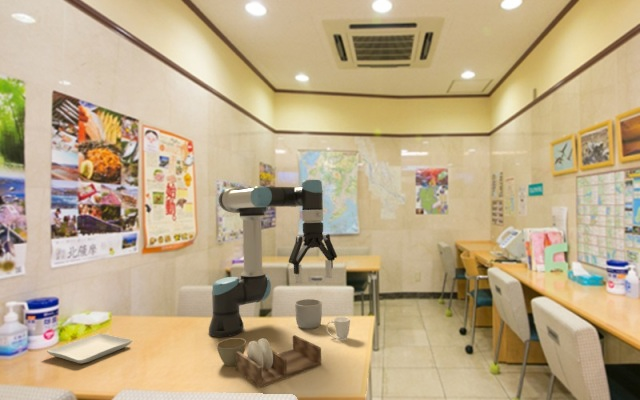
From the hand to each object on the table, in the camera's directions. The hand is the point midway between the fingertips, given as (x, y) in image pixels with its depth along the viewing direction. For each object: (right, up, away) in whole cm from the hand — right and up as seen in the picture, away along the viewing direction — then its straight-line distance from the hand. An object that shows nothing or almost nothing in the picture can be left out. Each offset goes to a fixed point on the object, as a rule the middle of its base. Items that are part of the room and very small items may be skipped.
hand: (314, 280), depth 129 cm
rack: (-12, -28, -8) cm, 31 cm away
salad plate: (-87, -31, +9) cm, 93 cm away
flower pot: (-29, -29, -4) cm, 41 cm away
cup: (+10, -28, +18) cm, 35 cm away
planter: (-3, -29, +35) cm, 45 cm away
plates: (-18, -27, -12) cm, 35 cm away
